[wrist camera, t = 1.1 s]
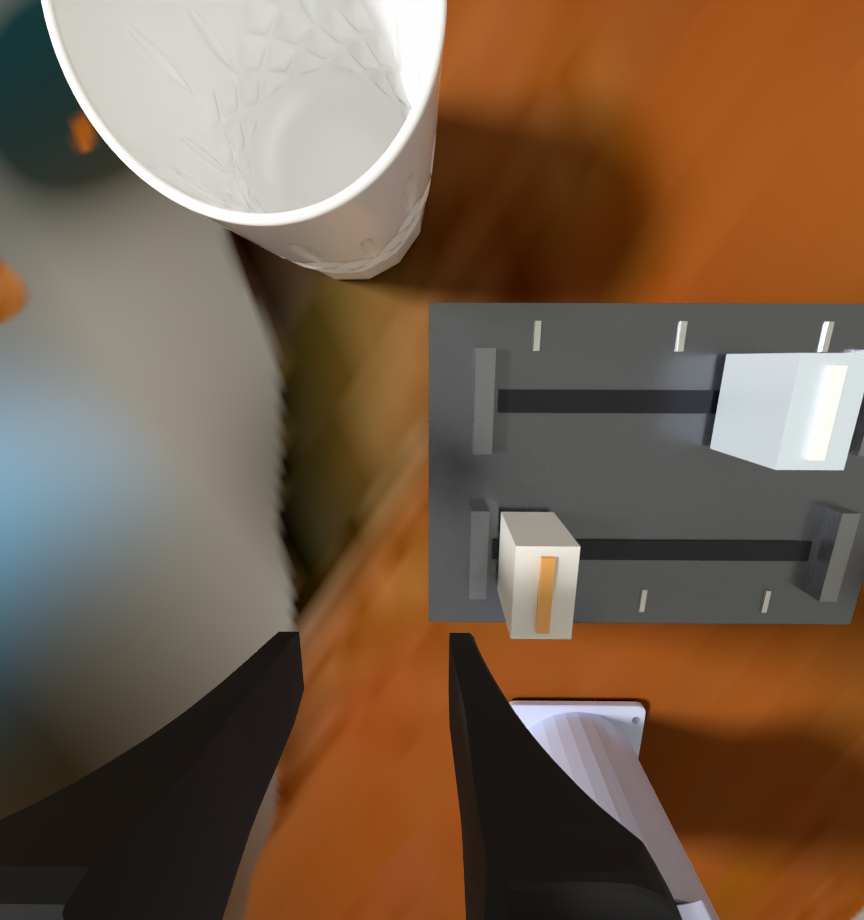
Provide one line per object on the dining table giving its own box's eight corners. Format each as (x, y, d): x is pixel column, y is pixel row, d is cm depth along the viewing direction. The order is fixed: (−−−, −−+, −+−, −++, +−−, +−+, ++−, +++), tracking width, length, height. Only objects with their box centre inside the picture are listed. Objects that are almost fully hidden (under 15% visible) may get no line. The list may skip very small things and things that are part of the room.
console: (813, 601, 22) (866, 634, 19) (429, 598, 22) (428, 632, 19) (890, 309, 18) (969, 301, 16) (429, 308, 18) (428, 299, 16)
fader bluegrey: (765, 448, 18) (849, 472, 14) (709, 448, 18) (780, 471, 14) (784, 354, 17) (881, 352, 13) (726, 354, 17) (806, 352, 13)
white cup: (386, 48, 16) (314, -417, 6) (470, 242, 18) (512, 105, 8) (222, 150, 17) (-59, -124, 7) (316, 326, 19) (190, 292, 9)
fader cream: (547, 589, 19) (572, 642, 16) (497, 589, 19) (511, 641, 16) (553, 511, 18) (582, 548, 15) (501, 511, 18) (517, 548, 15)
